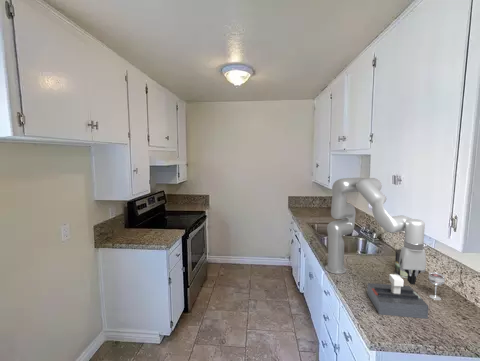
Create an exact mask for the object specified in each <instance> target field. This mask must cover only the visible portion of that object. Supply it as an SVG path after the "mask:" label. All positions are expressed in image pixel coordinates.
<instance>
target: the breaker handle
mask: <svg viewBox="0 0 480 361" xmlns="http://www.w3.org/2000/svg"><path fill="white" fill-rule="evenodd" d="M388 275H389V276H388V278H389V279H388V281H390V283H391V284H390V285H391V292H392V293H395V294H400V291H401V286H404V282H405V281H404V279H403V277H400V276H399V275H396V274H395V273H394V274H393V273H390V274H388Z"/></svg>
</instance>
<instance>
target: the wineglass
mask: <svg viewBox="0 0 480 361" xmlns="http://www.w3.org/2000/svg"><path fill="white" fill-rule="evenodd" d="M427 278H428V281H429V282H430V283H431V284H432V285H433V286H434V295H433V294H429V298H430V299H432V300H435V301H441V300H442V298H441V297H440V296H438V295H437V288H438V286H442V285H444V284H445V283H446V282H445V281H446V280H445V279H446V276H445V275H444V274H442V273H440V272H434V271H430V272H428V277H427Z"/></svg>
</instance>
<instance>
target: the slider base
mask: <svg viewBox="0 0 480 361" xmlns="http://www.w3.org/2000/svg"><path fill="white" fill-rule="evenodd" d="M366 289H367V291H366V294H367V296H368V298H369V299H370V301H371V303H372V305H373V306H374V308H375V310H376V312H378V314H379V315H382V316H383V315H384V316H385V315H386V316H393V317H406V318H415V319H427V320H428V318H429V305H428V304H427V303H426V302H425V301H424V300H423V298H422V297H421V296H420V295H419V294H418V293H417V292H416V291H415V290H414V289H413V288H412V287H411V286H410V285H403V286H401V291H400V294H395V293H392V292H391V284H387V283H373V282H372V283H371V282H368V283H367V288H366Z"/></svg>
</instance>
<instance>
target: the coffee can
mask: <svg viewBox="0 0 480 361" xmlns="http://www.w3.org/2000/svg"><path fill="white" fill-rule="evenodd" d="M401 249H402V248H400V249H399V248H398V249H395V260H394V262H395V263H394V274H395V275H399V276H400V277H401V278H402V279H403V278H405V279H407V278H408V274H407V273H406V272H404V271H401V270H400V269H399V268H400V265H399V258H400V252H401Z"/></svg>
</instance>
